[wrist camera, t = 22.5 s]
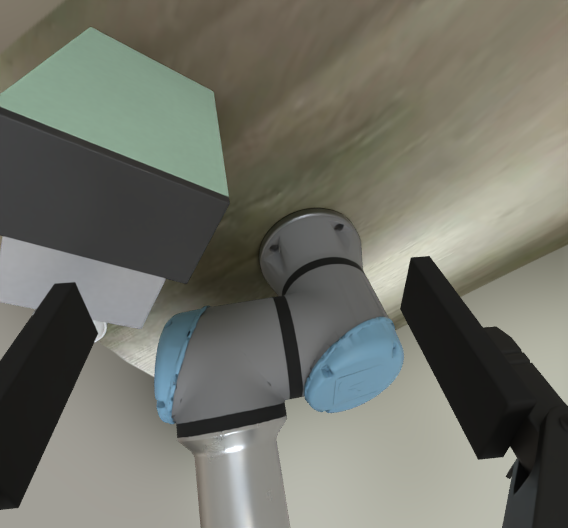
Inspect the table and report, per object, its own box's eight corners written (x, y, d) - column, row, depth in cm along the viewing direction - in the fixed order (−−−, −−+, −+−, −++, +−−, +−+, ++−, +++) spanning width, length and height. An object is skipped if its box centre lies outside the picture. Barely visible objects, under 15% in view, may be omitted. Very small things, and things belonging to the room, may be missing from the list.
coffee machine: (153, 234, 48) (131, 388, 31) (50, 202, 43) (-43, 367, 26) (213, 91, 38) (230, 203, 21) (90, 26, 33) (-19, 107, 16)
